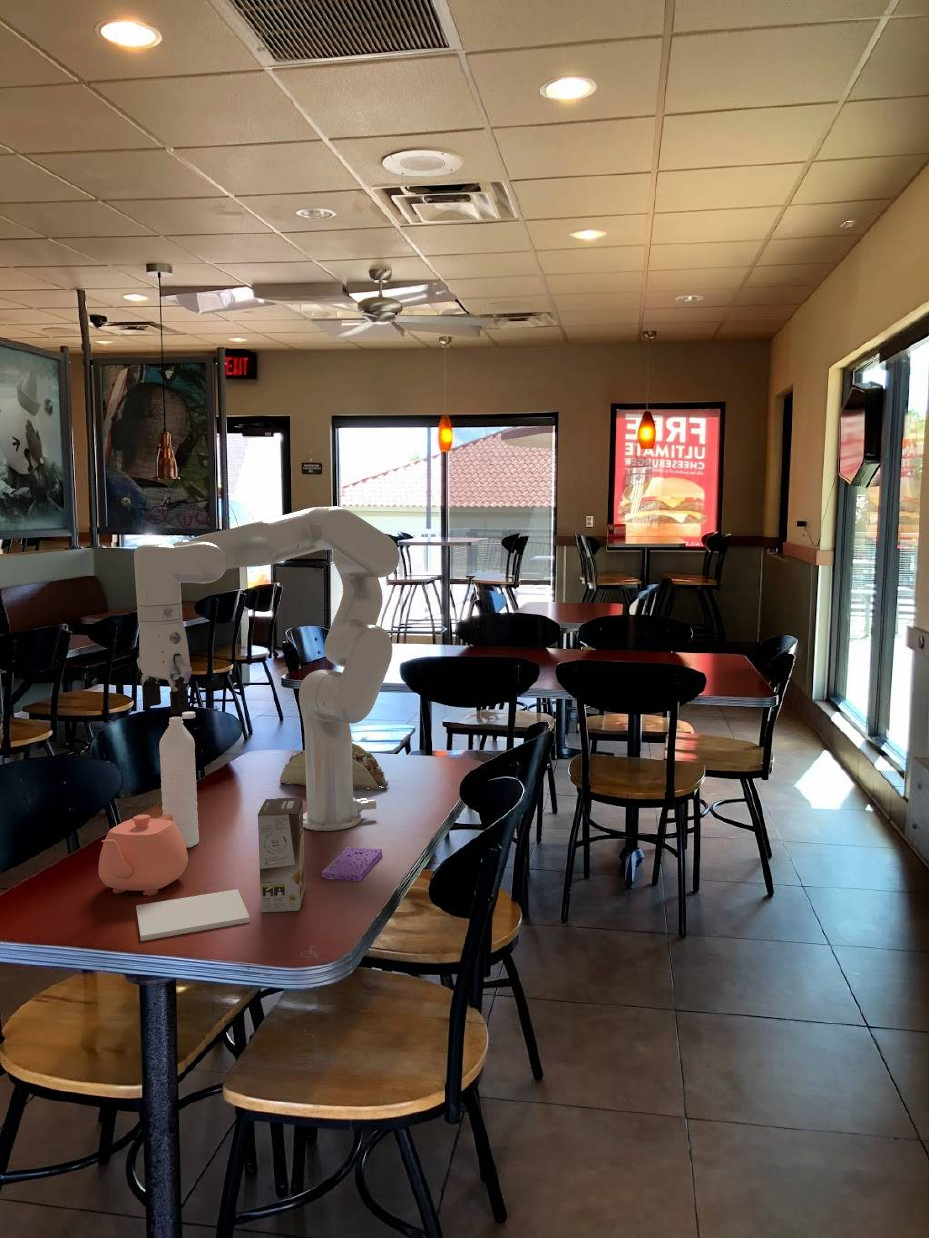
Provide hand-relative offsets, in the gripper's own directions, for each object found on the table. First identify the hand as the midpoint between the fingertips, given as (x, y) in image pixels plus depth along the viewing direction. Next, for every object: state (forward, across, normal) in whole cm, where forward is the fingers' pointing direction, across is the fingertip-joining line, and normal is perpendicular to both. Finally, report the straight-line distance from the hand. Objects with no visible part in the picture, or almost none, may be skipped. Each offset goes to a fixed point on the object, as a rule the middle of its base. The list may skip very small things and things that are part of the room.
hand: (166, 709), depth 165 cm
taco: (+30, +18, -51) cm, 61 cm away
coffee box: (+29, -29, -3) cm, 41 cm away
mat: (+28, -23, +10) cm, 38 cm away
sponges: (+30, -26, -20) cm, 44 cm away
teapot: (+29, -6, +10) cm, 31 cm away
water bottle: (+29, +9, -7) cm, 31 cm away
